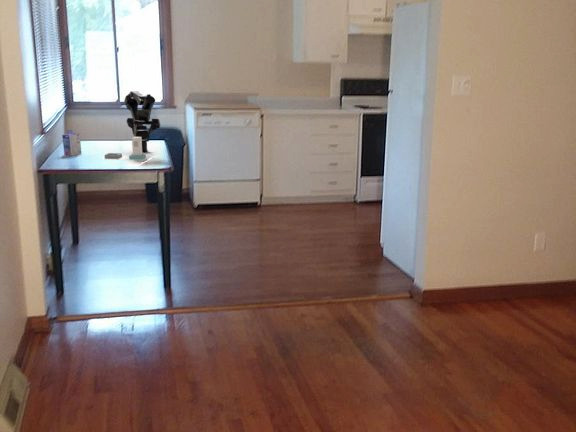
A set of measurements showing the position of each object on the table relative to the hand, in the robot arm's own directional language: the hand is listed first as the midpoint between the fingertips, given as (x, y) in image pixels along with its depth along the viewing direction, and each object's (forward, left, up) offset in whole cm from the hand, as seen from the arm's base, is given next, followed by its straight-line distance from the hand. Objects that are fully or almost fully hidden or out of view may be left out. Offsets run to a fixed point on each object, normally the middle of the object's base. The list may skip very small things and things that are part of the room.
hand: (141, 134), depth 356 cm
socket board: (+11, +2, -14) cm, 18 cm away
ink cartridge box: (+30, -31, -14) cm, 45 cm away
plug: (+6, +7, -13) cm, 15 cm away
